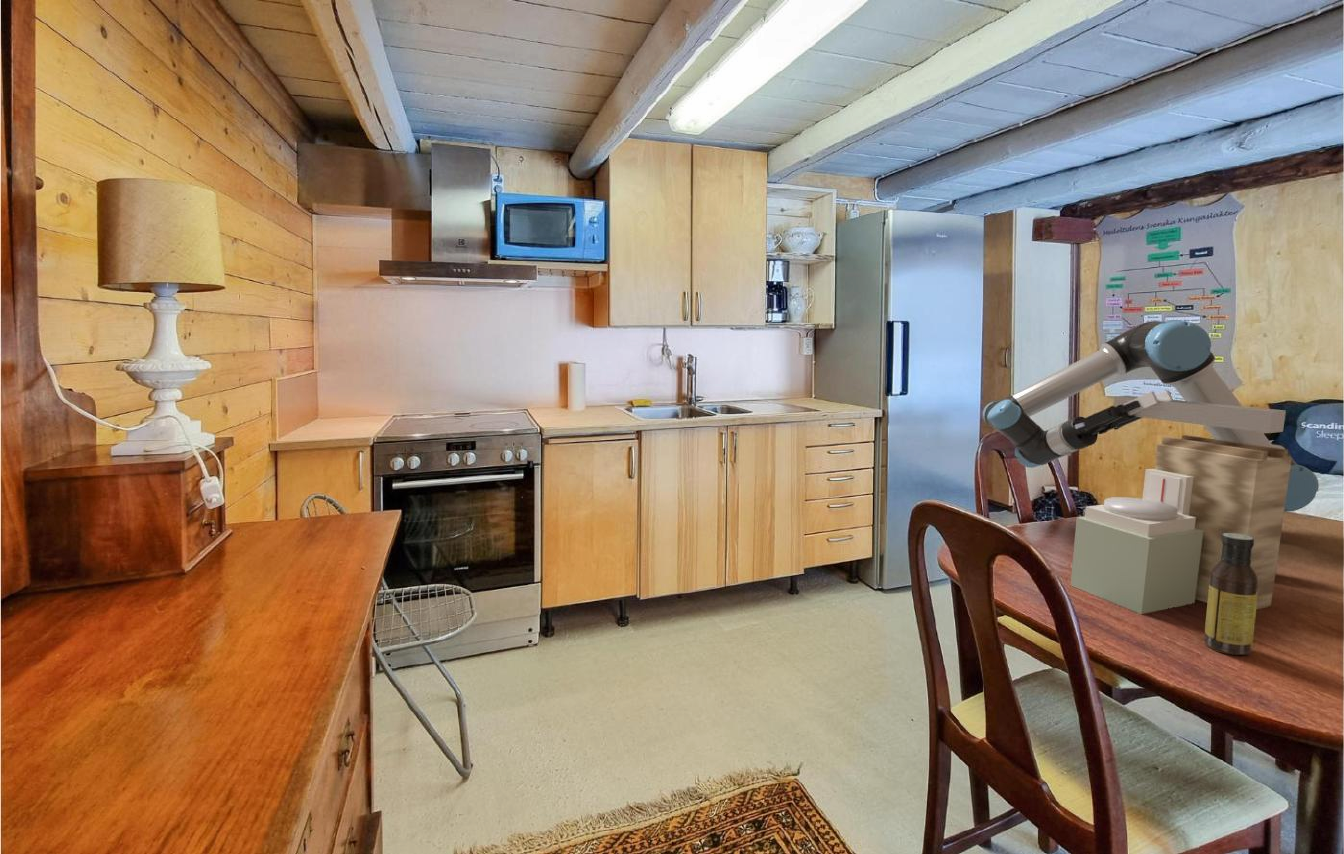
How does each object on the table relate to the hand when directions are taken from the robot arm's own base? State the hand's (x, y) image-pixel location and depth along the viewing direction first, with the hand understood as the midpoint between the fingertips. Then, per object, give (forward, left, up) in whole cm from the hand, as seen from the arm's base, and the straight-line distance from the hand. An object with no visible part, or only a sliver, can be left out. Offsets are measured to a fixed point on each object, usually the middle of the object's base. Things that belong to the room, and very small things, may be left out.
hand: (1162, 396), depth 139 cm
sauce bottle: (+1, +37, -40) cm, 54 cm away
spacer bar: (-3, +5, -5) cm, 8 cm away
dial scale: (+8, +15, -25) cm, 30 cm away
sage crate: (+8, +15, -40) cm, 43 cm away
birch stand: (-7, +10, -40) cm, 42 cm away
